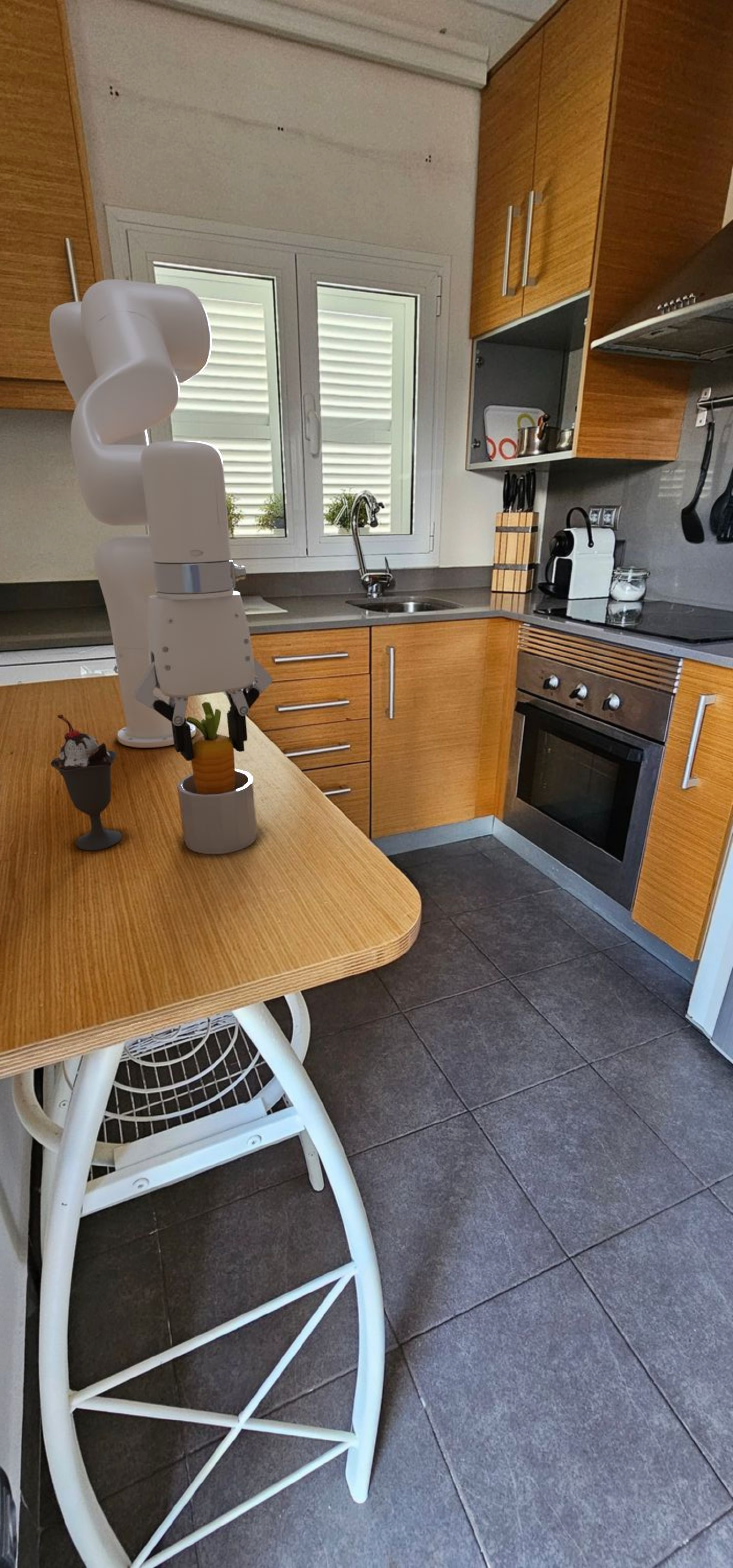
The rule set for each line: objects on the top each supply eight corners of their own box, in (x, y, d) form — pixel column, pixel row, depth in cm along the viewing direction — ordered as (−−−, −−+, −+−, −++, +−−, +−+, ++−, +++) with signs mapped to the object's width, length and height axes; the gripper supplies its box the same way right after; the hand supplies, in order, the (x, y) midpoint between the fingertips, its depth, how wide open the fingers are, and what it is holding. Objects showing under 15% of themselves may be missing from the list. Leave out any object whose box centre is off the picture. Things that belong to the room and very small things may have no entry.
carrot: (232, 842, 75) (220, 712, 70) (191, 839, 76) (175, 710, 70) (248, 823, 80) (238, 700, 74) (209, 820, 81) (195, 698, 75)
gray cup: (177, 831, 80) (169, 776, 77) (243, 817, 83) (239, 763, 81) (195, 861, 73) (188, 801, 70) (267, 843, 77) (263, 786, 74)
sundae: (66, 834, 79) (42, 711, 74) (126, 824, 82) (107, 703, 76) (68, 859, 74) (41, 727, 68) (132, 847, 76) (111, 719, 71)
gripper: (262, 573, 74) (272, 731, 81) (98, 582, 67) (125, 755, 74) (288, 578, 68) (297, 749, 75) (111, 589, 61) (139, 778, 68)
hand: (212, 750), depth 74 cm, fingers closed on carrot, 5 cm apart
